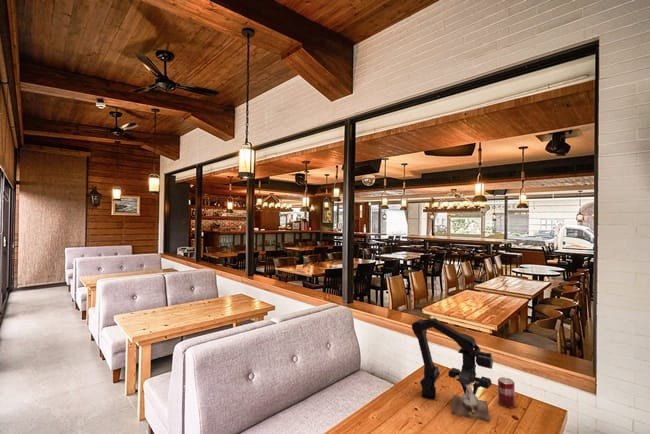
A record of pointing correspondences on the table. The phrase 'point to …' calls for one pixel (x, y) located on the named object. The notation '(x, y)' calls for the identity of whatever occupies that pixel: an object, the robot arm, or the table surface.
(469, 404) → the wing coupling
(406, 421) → the table surface
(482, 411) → the post base
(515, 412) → the table surface
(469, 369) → the robot arm
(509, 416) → the table surface
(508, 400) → the soda can
